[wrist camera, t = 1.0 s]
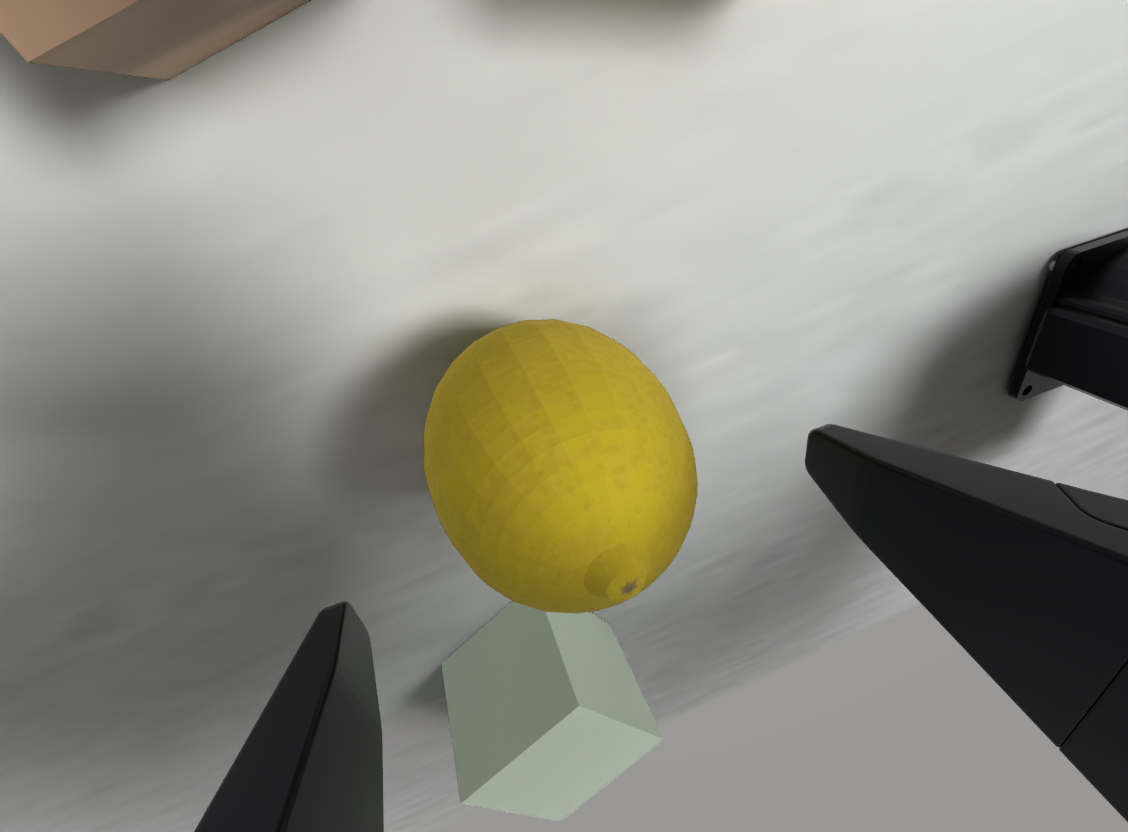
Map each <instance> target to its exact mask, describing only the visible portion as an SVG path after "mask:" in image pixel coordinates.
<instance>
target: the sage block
mask: <svg viewBox="0 0 1128 832" xmlns="http://www.w3.org/2000/svg"><path fill="white" fill-rule="evenodd" d="M441 664H442V671H443V679H444V686H445V693H446V701H447V708H448V715H449V723H450V730H451V737H452V745H453V752H454V759H455V767H456V774H457V781H458V788H459V796H460V803H461V804H464V805H470V806H475V807H481V808H487V809H493V810H498V811H504V812H510V813H516V814H521V815H527V816H533V817H538V818H544V819H549V820H555V821H561V820H563V819H564V818H565V817H567V816H568V815H569V814H570V813H572V812H573V811H574V810H576V809H577V808H578V807H579V806H581V805H582V804H583V803H584V802H586V801H587V800H588V799H589V798H591V797H592V796H593V795H594V794H596V793H597V792H598V791H600V790H601V789H602V788H603V787H605V786H606V785H607V784H608V783H609V782H611V781H612V780H613V779H615V778H616V777H617V776H618V775H620V774H621V773H622V772H624V771H625V770H626V769H627V768H628V767H630V766H631V765H632V764H634V763H635V762H636V761H637V760H639V759H640V758H641V757H642V756H644V755H645V754H646V753H648V752H649V751H650V750H651V749H652V748H654V747H655V746H656V745H657V744H659V743H660V742H661V741H663V740H664V738H663V736H662V734H661V732H660V730H659V728H658V725H657V723H656V721H655V719H654V717H653V715H652V713H651V711H650V708H649V706H648V704H647V702H646V700H645V698H644V696H643V694H642V691H641V689H640V687H639V685H638V683H637V681H636V679H635V677H634V674H633V672H632V670H631V668H630V666H629V664H628V662H627V660H626V657H625V655H624V653H623V651H622V649H621V647H620V645H619V643H618V640H617V638H616V636H615V634H614V632H613V630H612V628H611V626H610V624H608V623H606V622H605V621H603V620H601V619H599V618H598V617H596V616H594V615H593V614H591V613H589V612H585V613H578V614H575V613H557V612H545V611H542V610H539V609H535V608H532V607H529V606H526V605H522V604H519V603H516V602H514V601H512V602H511V603H509V604H508V605H507V606H506V607H505V608H504V609H503V610H502V611H500V612H499V613H498V614H497V615H496V616H495V617H494V618H492V619H491V620H490V621H489V622H488V623H487V624H486V625H485V626H483V627H482V628H481V629H480V630H479V631H478V632H477V633H475V634H474V635H473V636H472V637H471V638H470V639H469V640H468V641H466V642H465V643H464V644H463V645H462V646H461V647H460V648H458V649H457V650H456V651H455V652H454V653H453V654H452V655H451V656H449V657H448V658H447V659H446V660H445V661H444V662H443V663H441Z"/></svg>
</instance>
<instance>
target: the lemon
mask: <svg viewBox="0 0 1128 832" xmlns="http://www.w3.org/2000/svg"><path fill="white" fill-rule="evenodd" d="M424 470H425V477H426V481H427V485H428V488H429V491H430V494H431V497H432V500H433V503H434V506H435V509H436V512H437V515H438V517H439V520H440V522H441V524H442V526H443V528H444V530H445V532H446V534H447V536H448V537H449V539H450V540H451V542H452V544H453V545H454V546H455V548H456V549H457V550H458V552H459V553H460V554H461V556H462V557H463V558H464V559H465V561H466V562H467V563H468V565H469V566H470V567H471V568H472V570H473V571H474V572H475V573H476V575H477V576H479V577H480V578H481V579H482V580H483V581H484V582H485V583H486V584H487V585H489V586H490V587H492V588H493V589H495V590H496V591H498V592H499V593H501V594H502V595H504V596H506V597H507V598H509V599H511V600H512V601H514V602H516V603H519V604H522V605H526V606H529V607H532V608H535V609H539V610H542V611H545V612H557V613H575V614H578V613H585V612H592V611H598V610H601V609H605V608H608V607H611V606H614V605H617V604H620V603H622V602H624V601H626V600H628V599H630V598H632V597H634V596H635V595H637V594H638V593H640V592H641V591H642V590H644V589H645V588H647V587H648V586H649V585H650V584H651V583H652V582H654V581H655V580H656V579H657V578H658V577H659V576H660V575H661V574H662V573H663V572H664V571H665V570H666V569H667V567H668V566H669V564H670V563H671V562H672V560H673V559H674V557H675V556H676V555H677V553H678V551H679V549H680V548H681V546H682V544H683V541H684V539H685V537H686V535H687V533H688V530H689V528H690V526H691V522H692V518H693V514H694V509H695V503H696V498H697V474H696V466H695V458H694V453H693V448H692V445H691V442H690V439H689V436H688V434H687V431H686V429H685V427H684V425H683V423H682V421H681V419H680V417H679V414H678V412H677V410H676V408H675V406H674V404H673V402H672V400H671V398H670V396H669V395H668V393H667V391H666V390H665V388H664V387H663V385H662V384H661V383H660V381H659V380H658V379H657V378H656V377H655V376H654V375H653V374H652V372H651V371H650V370H649V369H648V368H647V367H646V366H645V365H644V364H643V363H642V362H641V361H640V360H639V359H638V358H637V357H636V356H635V355H634V354H633V353H632V352H631V351H630V350H629V349H627V348H626V347H625V346H623V345H621V344H620V343H618V342H616V341H614V340H613V339H611V338H609V337H607V336H605V335H603V334H601V333H600V332H598V331H596V330H594V329H592V328H589V327H587V326H582V325H578V324H573V323H569V322H564V321H559V320H555V319H550V320H526V321H521V322H517V323H514V324H511V325H507V326H504V327H501V328H497V329H495V330H494V331H492V332H490V333H488V334H487V335H485V336H483V337H481V338H480V339H478V340H476V341H475V342H473V343H472V344H471V345H470V346H469V347H468V348H467V349H466V350H465V351H463V352H462V353H461V354H460V355H459V356H458V357H457V358H456V359H455V360H454V361H453V362H452V363H451V365H450V366H449V368H448V369H447V371H446V372H445V374H444V376H443V377H442V379H441V380H440V382H439V384H438V385H437V387H436V389H435V392H434V394H433V398H432V401H431V404H430V408H429V411H428V414H427V418H426V422H425V427H424Z"/></svg>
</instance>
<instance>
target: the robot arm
mask: <svg viewBox="0 0 1128 832" xmlns="http://www.w3.org/2000/svg"><path fill="white" fill-rule="evenodd" d="M1062 385H1066V386H1068V387H1071V388H1073V389H1076V390H1078V391H1081V392H1083V393H1086V394H1088V395H1091V396H1093V397H1095V398H1098V399H1100V400H1103V401H1105V402H1108V403H1110V404H1113V405H1115V406H1118V407H1120V408H1123V409H1125V410H1128V230H1127V231H1124V232H1121V233H1118V234H1115V235H1112V236H1109V237H1106V238H1103V239H1100V240H1096V241H1093V242H1090V243H1087V244H1084V245H1081V246H1078V247H1075V248H1072V249H1069V250H1067V251H1065V252H1064V253H1063V254H1062V255H1061V256H1060V257H1059V258H1058V260H1057V261H1056V263H1055V265H1054V268H1053V270H1052V273H1051V276H1050V279H1049V281H1048V284H1047V287H1046V290H1045V292H1044V295H1043V298H1042V300H1041V303H1040V306H1039V309H1038V311H1037V314H1036V317H1035V320H1034V322H1033V325H1032V328H1031V330H1030V333H1029V336H1028V339H1027V341H1026V344H1025V347H1024V350H1023V352H1022V355H1021V358H1020V360H1019V363H1018V366H1017V369H1016V371H1015V374H1014V377H1013V380H1012V382H1011V385H1010V388H1009V391H1008V395H1009V396H1010V397H1013V398H1015V399H1017V400H1019V401H1023V400H1026V399H1028V398H1031V397H1033V396H1036V395H1039V394H1041V393H1044V392H1046V391H1049V390H1051V389H1054V388H1057V387H1059V386H1062ZM805 466H806V469H807V471H808V473H809V475H810V476H811V477H812V479H813V480H814V481H815V482H816V484H817V485H818V486H819V488H820V489H821V490H822V491H823V493H824V494H825V495H826V497H827V498H828V499H829V501H830V502H831V503H832V504H833V506H834V507H835V508H836V510H837V511H838V512H839V513H840V515H841V516H842V517H843V519H844V520H845V521H846V522H847V524H848V525H849V526H850V527H851V529H852V530H853V531H854V532H855V534H856V535H857V536H858V537H859V538H860V539H861V540H862V541H863V542H864V544H865V545H866V546H867V547H868V548H869V549H870V550H871V551H872V552H873V553H874V554H875V555H876V556H877V557H878V558H879V559H880V560H881V562H882V563H883V564H884V565H885V566H886V567H887V568H888V569H889V570H890V571H891V572H892V573H893V574H894V575H895V576H896V577H897V578H898V579H899V581H900V582H901V583H902V584H903V585H904V586H905V587H906V588H907V589H908V590H909V591H910V592H911V593H912V594H913V595H914V596H915V597H916V599H917V600H918V601H919V602H920V603H921V604H922V605H923V606H924V607H925V608H926V609H927V610H928V611H929V612H930V613H931V614H932V615H933V616H934V618H935V619H936V620H937V621H938V622H939V623H940V624H941V625H942V626H943V627H944V628H945V629H946V630H947V631H948V632H949V633H950V634H951V635H952V636H953V637H954V639H955V640H956V641H957V642H958V643H959V644H960V645H961V646H962V647H963V648H964V649H965V650H966V651H967V652H968V653H969V655H971V657H972V658H973V659H974V660H975V661H976V662H977V663H978V664H979V665H980V666H981V667H982V668H983V669H984V670H985V671H986V672H987V674H988V675H989V676H990V677H991V678H992V679H993V680H994V681H995V682H996V683H997V684H998V685H999V686H1000V687H1001V688H1002V689H1003V690H1004V692H1005V693H1006V694H1007V695H1008V696H1009V697H1010V698H1011V699H1012V700H1013V701H1014V702H1015V703H1016V704H1017V705H1018V706H1019V707H1020V708H1021V709H1022V711H1023V712H1024V713H1025V714H1026V715H1027V716H1028V717H1029V718H1030V719H1031V720H1032V721H1033V722H1034V723H1035V724H1036V725H1037V726H1038V727H1039V728H1040V730H1041V731H1042V732H1043V733H1044V734H1045V735H1046V736H1047V737H1048V738H1049V739H1050V740H1051V741H1052V742H1053V743H1054V744H1055V745H1056V746H1057V747H1059V750H1060V751H1061V752H1062V753H1063V754H1064V755H1065V756H1066V757H1067V759H1068V760H1069V761H1070V762H1071V763H1072V764H1073V765H1074V766H1075V767H1076V768H1077V769H1078V770H1079V771H1080V772H1081V773H1082V774H1083V775H1084V776H1085V778H1086V779H1087V780H1088V781H1089V782H1090V783H1091V784H1092V785H1093V786H1094V787H1095V788H1096V789H1097V790H1098V791H1099V792H1100V793H1101V794H1102V795H1103V797H1105V799H1106V800H1107V801H1108V802H1109V803H1110V804H1111V805H1112V806H1113V807H1114V808H1115V809H1116V810H1117V811H1118V812H1119V813H1120V815H1121V816H1123V818H1125V820H1126V821H1127V822H1128V500H1125V499H1121V498H1116V497H1112V496H1108V495H1104V494H1100V493H1096V492H1092V491H1088V490H1084V489H1080V488H1076V487H1073V486H1069V485H1065V484H1061V483H1056V484H1055V483H1054V482H1052V481H1049V480H1045V479H1042V478H1038V477H1034V476H1030V475H1026V474H1022V473H1018V472H1015V471H1011V470H1007V469H1003V468H999V467H995V466H992V465H988V464H984V463H980V462H976V461H972V460H968V459H965V458H961V457H957V456H953V455H949V454H945V453H941V452H938V451H934V450H930V449H926V448H922V447H918V446H914V445H911V444H907V443H903V442H899V441H895V440H891V439H887V438H884V437H880V436H876V435H872V434H868V433H864V432H860V431H857V430H853V429H849V428H845V427H841V426H837V425H833V424H827V425H824V426H821V427H818V428H816V429H813V430H811V431H810V433H809V434H808V440H807V448H806V457H805ZM194 832H384V824H383V758H382V729H381V720H380V711H379V704H378V696H377V689H376V681H375V673H374V666H373V658H372V651H371V643H370V638H369V635H368V632H367V629H366V628H365V626H364V624H363V623H362V621H361V620H360V618H359V617H358V615H357V614H356V612H355V610H354V609H353V607H352V606H351V605H350V604H349V603H348V602H346V601H345V602H340V603H337V604H335V605H332V606H329V607H327V608H324V609H323V610H322V611H321V612H320V613H319V614H318V616H317V618H316V619H315V621H314V623H313V625H312V626H311V628H310V630H309V632H308V633H307V635H306V637H305V639H304V640H303V642H302V644H301V646H300V647H299V649H298V651H297V653H296V654H295V656H294V658H293V660H292V661H291V663H290V665H289V667H288V668H287V670H286V672H285V674H284V675H283V677H282V679H281V681H280V682H279V684H278V686H277V688H276V689H275V691H274V693H273V695H272V696H271V698H270V700H269V702H268V703H267V705H266V707H265V709H264V710H263V712H262V714H261V716H260V717H259V719H258V721H257V723H256V724H255V726H254V728H253V730H252V731H251V733H250V735H249V737H248V738H247V740H246V742H245V744H244V745H243V747H242V749H241V751H240V752H239V754H238V756H237V758H236V759H235V761H234V763H233V765H232V766H231V768H230V770H229V772H228V773H227V775H226V777H225V779H224V780H223V782H222V784H221V786H220V787H219V789H218V791H217V793H216V794H215V796H214V798H213V800H212V801H211V803H210V805H209V807H208V808H207V810H206V812H205V814H204V815H203V817H202V819H201V821H200V822H199V824H198V826H197V828H196V829H195V831H194Z"/></svg>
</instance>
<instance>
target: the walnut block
mask: <svg viewBox="0 0 1128 832" xmlns="http://www.w3.org/2000/svg"><path fill="white" fill-rule="evenodd" d="M309 1H311V0H0V33H1V34H2V35H3V36H4V37H5V38H6V39H7V41H8V42H9V43H10V44H11V45H12V46H13V47H14V48H15V49H16V50H17V52H18V53H19V54H20V55H21V56H22V57H23V58H24V59H25V60H26V61H27V62H28V63H36V64H44V65H52V66H60V67H68V68H76V69H84V70H92V71H101V72H109V73H117V74H125V75H133V76H141V77H149V78H157V79H165V80H170V79H171V78H173V77H175V76H177V75H179V74H180V73H182V72H184V71H186V70H188V69H189V68H191V67H193V66H195V65H196V64H198V63H200V62H202V61H204V60H205V59H207V58H209V57H211V56H213V55H214V54H216V53H218V52H220V51H221V50H223V49H225V48H227V47H229V46H230V45H232V44H234V43H236V42H238V41H239V40H241V39H243V38H245V37H246V36H248V35H250V34H252V33H254V32H255V31H257V30H259V29H261V28H263V27H264V26H266V25H268V24H270V23H271V22H273V21H275V20H277V19H279V18H280V17H282V16H284V15H286V14H288V13H289V12H291V11H293V10H295V9H296V8H298V7H300V6H302V5H304V4H305V3H307V2H309Z"/></svg>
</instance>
